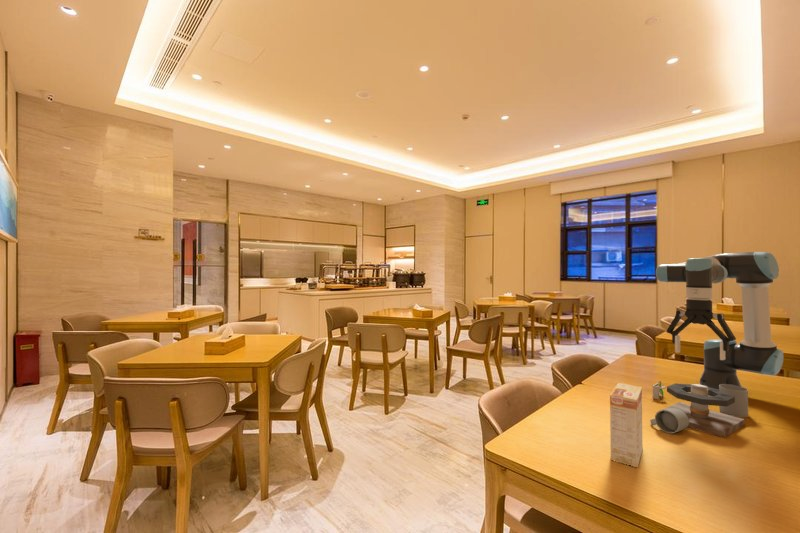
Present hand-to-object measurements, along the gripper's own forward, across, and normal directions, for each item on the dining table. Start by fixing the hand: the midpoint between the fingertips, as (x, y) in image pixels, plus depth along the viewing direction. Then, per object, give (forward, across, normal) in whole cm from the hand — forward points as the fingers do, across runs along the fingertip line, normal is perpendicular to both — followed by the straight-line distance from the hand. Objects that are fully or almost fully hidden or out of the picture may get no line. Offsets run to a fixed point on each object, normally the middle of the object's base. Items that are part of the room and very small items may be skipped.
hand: (699, 355), depth 135 cm
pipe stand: (+24, 0, 0) cm, 24 cm away
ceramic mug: (+25, -3, -18) cm, 31 cm away
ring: (+15, 0, 0) cm, 15 cm away
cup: (+24, +4, +21) cm, 33 cm away
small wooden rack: (+25, -20, +16) cm, 36 cm away
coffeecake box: (+25, -2, -49) cm, 55 cm away
